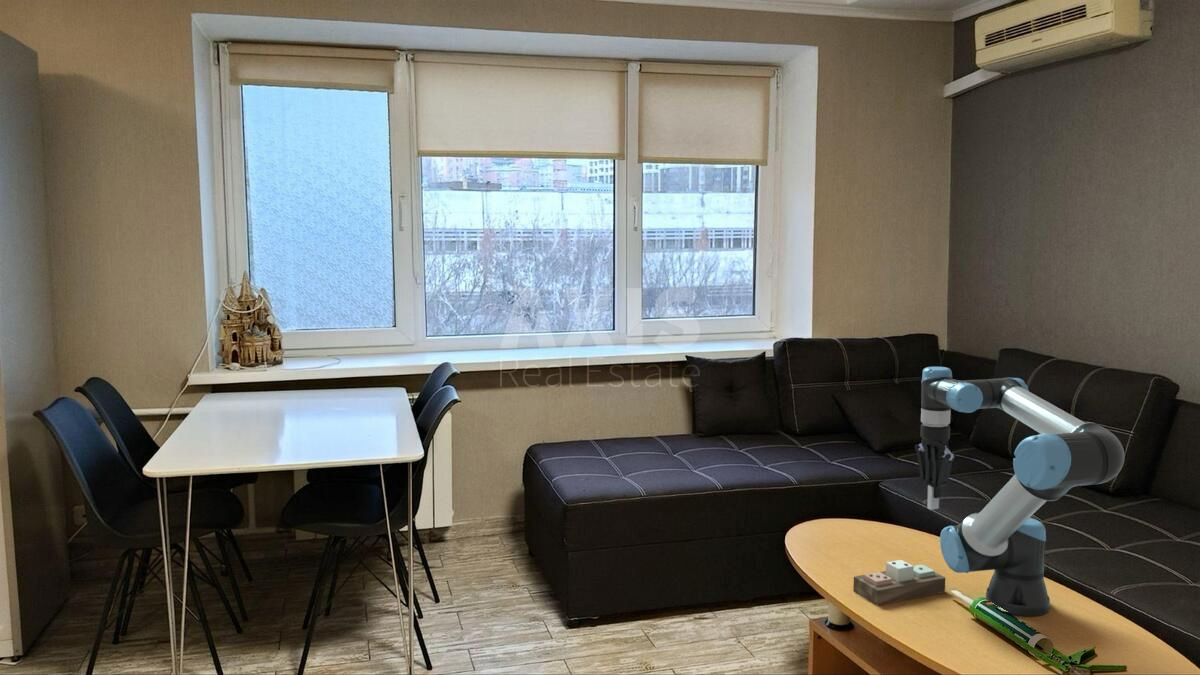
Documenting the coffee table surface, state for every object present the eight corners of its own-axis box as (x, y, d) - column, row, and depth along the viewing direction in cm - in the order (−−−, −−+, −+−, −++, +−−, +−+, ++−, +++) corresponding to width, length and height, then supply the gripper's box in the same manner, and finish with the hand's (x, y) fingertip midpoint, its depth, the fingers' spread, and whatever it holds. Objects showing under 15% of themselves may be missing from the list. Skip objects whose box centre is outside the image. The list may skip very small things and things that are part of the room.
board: (944, 591, 244) (945, 577, 243) (876, 605, 236) (877, 590, 236) (919, 578, 253) (920, 564, 252) (853, 590, 245) (853, 576, 245)
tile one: (933, 588, 245) (934, 570, 245) (918, 591, 244) (919, 572, 243) (921, 581, 250) (921, 563, 249) (906, 584, 248) (907, 566, 248)
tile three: (891, 596, 241) (891, 577, 240) (875, 599, 239) (876, 580, 238) (879, 589, 245) (879, 571, 245) (863, 592, 244) (864, 574, 243)
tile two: (913, 584, 243) (913, 565, 242) (897, 586, 241) (898, 568, 240) (900, 577, 247) (901, 558, 247) (885, 580, 246) (886, 561, 245)
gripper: (964, 427, 242) (961, 513, 244) (928, 418, 253) (926, 500, 256) (943, 430, 239) (940, 517, 241) (907, 420, 250) (905, 503, 253)
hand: (933, 508), depth 249 cm, fingers closed
